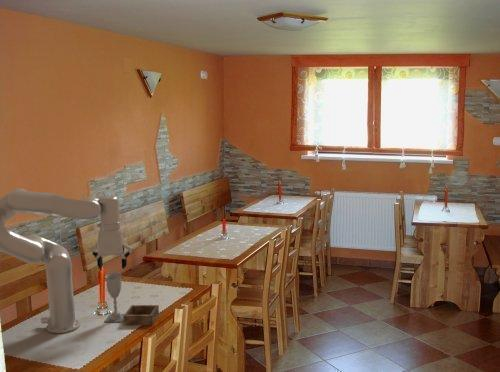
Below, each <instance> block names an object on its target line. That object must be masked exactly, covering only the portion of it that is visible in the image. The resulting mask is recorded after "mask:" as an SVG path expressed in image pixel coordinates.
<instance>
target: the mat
mask: <svg viewBox="0 0 500 372" xmlns="http://www.w3.org/2000/svg"><path fill="white" fill-rule="evenodd" d="M111 315H112V313H110V314H108V316H107V317H106V318H105V320H104V321H103V323H124V315H125V313H121V315H122V318H121V319H119V320H111V319H110V317H111Z"/></svg>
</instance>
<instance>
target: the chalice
mask: <svg viewBox="0 0 500 372" xmlns="http://www.w3.org/2000/svg"><path fill="white" fill-rule="evenodd" d="M122 277H123V275H122V273H119V272H112V273H109V274H106V275H105V276H104V278H105V281H106V289H107V292H108V293H109V295H110V297H111V298H112V299H113V309H114V310H113V311H112V313H111V314H112V315H111V317H110V319H111V320H119V319H121V318H122V315H121V314H122V313H121V312H120V311H119V310H118V305H117V303H118V302H117V298H118V297H119V295H120V293H121V290H122Z"/></svg>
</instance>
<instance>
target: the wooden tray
mask: <svg viewBox="0 0 500 372" xmlns="http://www.w3.org/2000/svg"><path fill="white" fill-rule="evenodd" d="M159 307H160V306H159V305H158V304H142V305H141V304H132V305H130V307H129V308H128V310H127V311H126V312H125V313H124V314H125V315H124V322H123V323H124V326H153V325H154V324H155V322H156V320H157V318H158V317H159V315H160V309H159Z"/></svg>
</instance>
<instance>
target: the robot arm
mask: <svg viewBox="0 0 500 372" xmlns="http://www.w3.org/2000/svg"><path fill="white" fill-rule="evenodd" d="M119 204H120V203H119V198H118V196H116V195H106V196H85V197H83V198H82V199H78V198H69V197H65V196H62V195H60V194H57V193H55V192H41V191H40V192H39V191H30V190H29V191H28V190H27V189H25V188H22V187H21V188H19V187H18V188H14V189H13V190H10V191H9V192H8V193H7V194H5V195H4V196H2V197H1V198H0V252H1V253H4V254H6V255H9V256H11V257H13V258H16V259H18V260H20V261H22V262H25V263H27V264H37V263H40V264H43V265H45V276H46V287H47V296H48V297H47V299H48V311H49V316H41V318H40V322H41V324H47V325H46V331H48V333H51V334H64V333H68V332H69V331H70V332H73V331H75V330H76V329H78V328H79V327H80V326H81V323H80V321H79V320H78V319H76V310H75V309H76V308H75V299H74V298H75V296H74V286H73V268H72V267H73V265H72V259H71V256H70V253H69V251H68V249H67V248H66V247H64V246H62V245H60V244H58V243H56V242H54V241H51V240H49V239H46V238H44V237H42V236H39V235H36V234H29V235H26V236H24V235H22V234H20V233H17V232H15V231H12V230H9V229H7V228H6V226H5V225H6V223H7V221H9V220H10V219H12V218H13V217H14V216H15V215H17V214H25V215H26V214H29V215H43V216H44V215H46V216H53V217H62V218H68V219H77V220H94V219H96V218H97V217H99V220H100V222H99V223H96V226H97V228H99V230H98V235H97V244H95V245H93V246H91V247H89V249H90V252H91V253H92V255H93V256H94V257H95V258H96V263H97V266H98V269H101V268H103V267H104V263H103V257H102V256H120V257H121V258H122V259H121V268H122V269H123V270H124V269H125V268H126V267H127V265H128V263H127V262H128V261H127V258H128V257H129V256H130V255H131V253H132V251H133V246H130V245H128V244H126V243H125V239H124V235H123V230H122V229H121V223H120V222H121V221H120V207H119V206H120V205H119ZM96 249H97V251H96ZM125 250H127V252H125ZM70 332H69V333H70Z"/></svg>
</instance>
